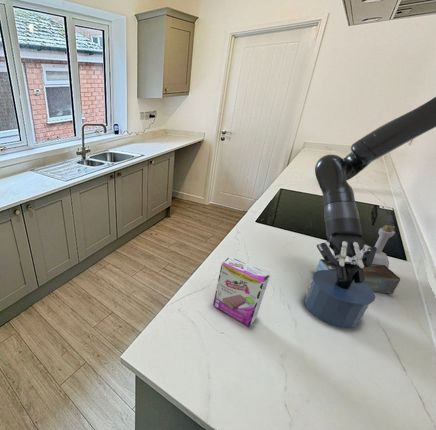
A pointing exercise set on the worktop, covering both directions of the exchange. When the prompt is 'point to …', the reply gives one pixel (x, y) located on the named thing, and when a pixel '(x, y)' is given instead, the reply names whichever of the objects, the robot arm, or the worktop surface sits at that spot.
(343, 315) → the pot
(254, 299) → the candy bar box
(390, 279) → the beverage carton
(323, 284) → the lid
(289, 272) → the worktop surface
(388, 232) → the potion bottle
